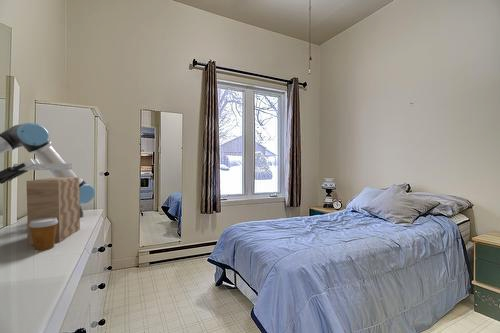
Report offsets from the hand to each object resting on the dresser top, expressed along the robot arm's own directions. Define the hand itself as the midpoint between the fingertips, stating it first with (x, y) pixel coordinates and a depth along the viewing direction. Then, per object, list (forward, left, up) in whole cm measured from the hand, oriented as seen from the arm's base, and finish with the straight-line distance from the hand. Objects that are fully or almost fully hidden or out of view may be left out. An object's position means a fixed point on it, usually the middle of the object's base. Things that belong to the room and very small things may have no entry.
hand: (35, 161), depth 117 cm
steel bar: (0, +3, -4) cm, 5 cm away
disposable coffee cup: (+17, +11, -37) cm, 42 cm away
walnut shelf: (-1, +8, -37) cm, 37 cm away
